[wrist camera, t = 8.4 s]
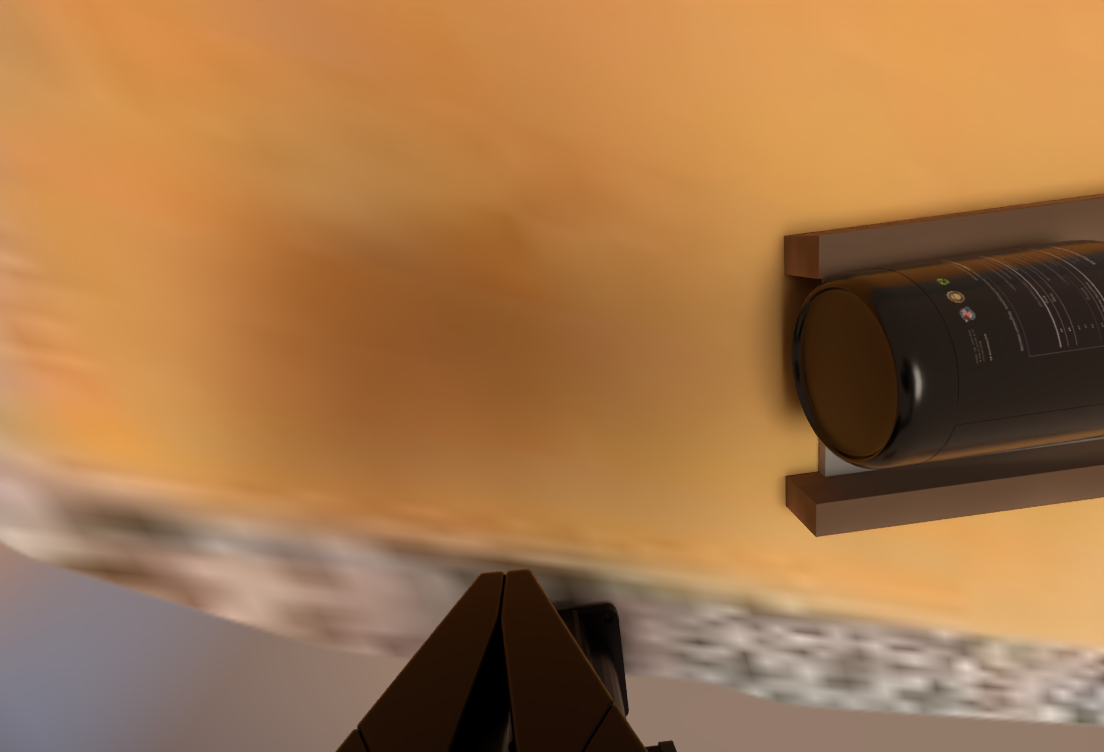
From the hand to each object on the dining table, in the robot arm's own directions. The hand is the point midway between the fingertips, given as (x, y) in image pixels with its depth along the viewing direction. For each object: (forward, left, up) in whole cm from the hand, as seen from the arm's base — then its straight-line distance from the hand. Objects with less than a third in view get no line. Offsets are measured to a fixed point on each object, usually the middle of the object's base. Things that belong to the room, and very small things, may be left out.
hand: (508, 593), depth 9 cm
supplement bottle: (0, -11, -9) cm, 14 cm away
